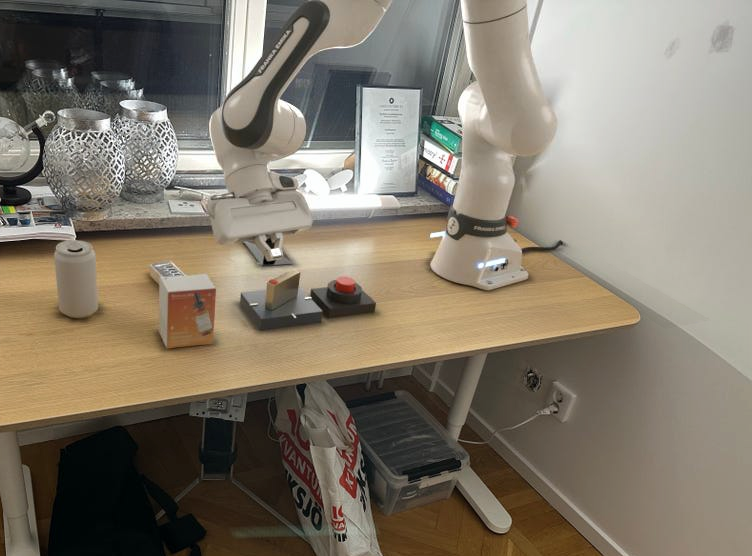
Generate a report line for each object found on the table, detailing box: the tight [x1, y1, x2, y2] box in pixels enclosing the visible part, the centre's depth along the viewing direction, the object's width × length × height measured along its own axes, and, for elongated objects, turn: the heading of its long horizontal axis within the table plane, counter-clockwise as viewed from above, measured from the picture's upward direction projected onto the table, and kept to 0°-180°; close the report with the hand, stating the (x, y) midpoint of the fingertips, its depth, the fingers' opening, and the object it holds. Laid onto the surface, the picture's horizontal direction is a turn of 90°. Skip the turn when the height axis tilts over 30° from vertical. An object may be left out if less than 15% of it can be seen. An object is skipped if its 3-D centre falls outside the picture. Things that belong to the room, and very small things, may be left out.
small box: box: [158, 273, 217, 349], centre depth 107 cm, size 8×6×10 cm
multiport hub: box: [149, 260, 187, 285], centre depth 124 cm, size 4×11×2 cm, turn 35°
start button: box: [335, 276, 356, 293], centre depth 124 cm, size 4×4×2 cm
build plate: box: [243, 238, 294, 267], centre depth 141 cm, size 12×7×5 cm, turn 23°
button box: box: [309, 279, 377, 320], centre depth 125 cm, size 10×8×4 cm
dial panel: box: [239, 285, 324, 332], centre depth 120 cm, size 12×12×3 cm
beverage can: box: [53, 239, 99, 319], centre depth 110 cm, size 6×6×12 cm
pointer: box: [265, 268, 301, 310], centre depth 118 cm, size 8×2×5 cm, turn 146°
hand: (275, 259), depth 122 cm, fingers closed
